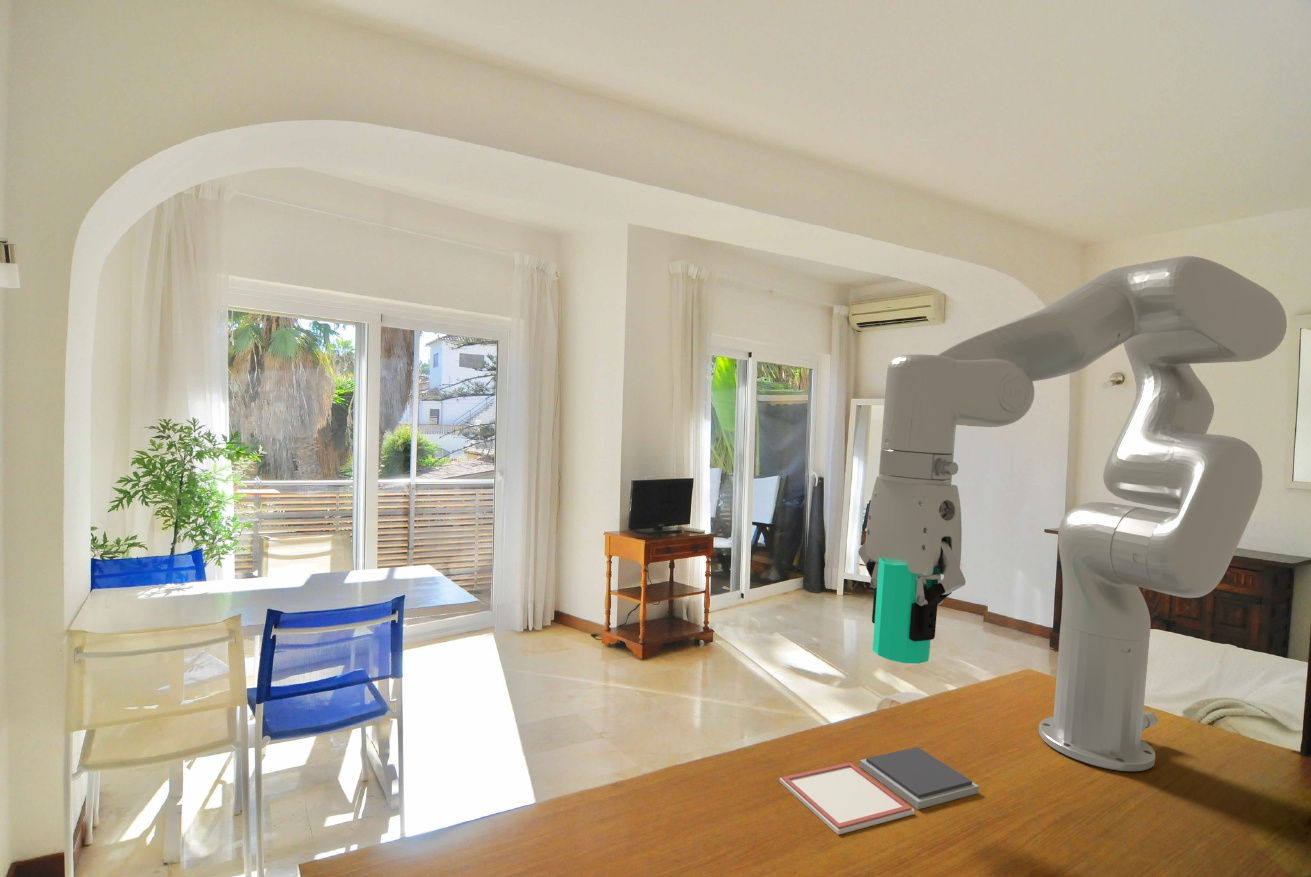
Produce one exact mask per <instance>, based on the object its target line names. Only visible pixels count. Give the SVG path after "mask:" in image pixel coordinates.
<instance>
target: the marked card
mask: <svg viewBox="0 0 1311 877" xmlns="http://www.w3.org/2000/svg"><path fill="white" fill-rule="evenodd" d="M778 780H779V781H778V782H779V783H780V784H781V785H782V786H783V787H784V788H785V789H787V791H789V792H790V793H791V794H792V795H793V796H794V797H795V798H796V799H798V800H799V801H800V802H801V803H802V804H803V805H804V806H806V808H808V809H809V810H810V811H811V812H812V813H813V814H814V815H815V816H816V817H817V818H819V819H820V821H822V822H823V823H824V824H825V825H826V826H828V828H830V830H832V831H833V832H834V833H835V834H836V835H839V836H840V835H842V834H846V833H849V832H854V831H858V830H861V829H864V828H869V827H871V826H875V825H878V824H882V823H886V822H890V821H894V820H898V819H901V818H905V817H908V816H912V815H915V809H914V808H912V806H910V804H909V805H908V804H907V803H906V802H904V800H902V799H901V798H899V796H897V795H895V793H893V792H891V791H890V790H888V788H887V787H886V788H885V786H883V784H882V785H881V784H880V783H879V781H878V782H877V781H876V779H874V778H872V777H871V776H870V775H868V773H865V772H864V770H861V769H860V767H857V766H856V765H855V764H854V763H852V762H850V761H849V762H846V763H845V762H844V763H840V764H836V765H830V766H827V767H822V768H818V769H814V770H809V771H804V772H803V771H802V772H800V773H799V772H798V773H795V774H794V773H793V774H790V775H785V776H782V777H779V779H778Z"/></svg>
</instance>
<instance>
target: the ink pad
mask: <svg viewBox="0 0 1311 877" xmlns="http://www.w3.org/2000/svg"><path fill="white" fill-rule="evenodd" d="M859 768H861V769H862V771H865V772H866V774H869V776H872V777H873V779H875V780H877V781H878V782H880V783H881V784H882V785H884V787H886V788H887V789H889V790H891V791H892V793H894V794H896V796H898V797H900V798H902V799H903V801H906V802H907V803H908V804H909V805H911V807H912V806H913V808H915V809H917V810H921V809H925V808H928V807H932V806H936V805H940V804H943V803H947V802H950V801H954V800H958V799H962V798H965V797H969V796H972V795H976V794H979V788H980V787H979V785H978V784H976V783H974V782H973V780H972V779H970V778H968V777H967V776H965V775H963V774H962V773H960V772H958V771H957V770H955V769H953V768H952V767H950V766H949V765H948V764H945V763H944V762H942V761H941V760H939V759H938V758H936V757H934V756H933V755H931V754H929V753H928V752H926V751H925V750H923V749H922V748H920V747H919V746H915V747H912V748H907V749H902V750H901V749H900V750H897V751H891V752H889V753H884V754H879V755H878V754H877V755H875V756H869V757H866V758H863V759H860V760H859Z"/></svg>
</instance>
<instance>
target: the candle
mask: <svg viewBox="0 0 1311 877" xmlns="http://www.w3.org/2000/svg"><path fill="white" fill-rule="evenodd" d="M932 574H934V569H933V573H932ZM915 577H916V576H915V575H913V574H912V573H910V572H909V569H908V565H896V564H888V563H886V562H885V561H883V559H881V558H879V567H878V581H877V595H876V609H875V624H874V623H873V624H874V627H873V638H872V639H873V641H872V651H873V652H874V653H875V654H876V655H877V656H879V657H881V658H884V659H886V660H889V661H893V662H897V663H898V662H899V663H902V664H915V665H916V664H918V665H919V664H923V663H927V662H929V659H930V651H931V640H924V641H912V640H910V639H909V631H910V619H911V606H912V603H917V601H916V595H915V581H916V579H915ZM926 585H927V590H928V589H929V588H930V587H931V586H932V580H926Z"/></svg>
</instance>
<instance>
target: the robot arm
mask: <svg viewBox="0 0 1311 877" xmlns="http://www.w3.org/2000/svg"><path fill="white" fill-rule="evenodd" d="M1287 322H1288V321H1287V316H1286V311H1285V309H1284V307H1283V305H1282V303H1281V301H1280V300H1279V299H1278V298H1277V297H1276V296H1275V295H1274V294H1273V293H1272V292H1271V291H1269V290H1268V289H1266V287H1265V288H1264V287H1263V286H1261V285H1259V284H1258V283H1256V282H1254V281H1252V280H1250V279H1248V278H1247V277H1245V276H1243V275H1241V274H1240V273H1238V272H1237V271H1234V270H1233V269H1231V268H1229V267H1226V266H1225V265H1222V264H1220V263H1218V262H1216V261H1213V260H1210V259H1206V258H1203V257H1199V256H1193V255H1186V256H1185V255H1184V256H1177V257H1172V258H1171V257H1170V258H1165V259H1161V260H1156V261H1150V262H1144V263H1139V264H1138V263H1137V264H1132V265H1126V266H1122V267H1117V268H1114V269H1110V270H1108V271H1105V272H1103V273H1101V274H1099V275H1098V276H1096V277H1094V278H1092V279H1091V280H1089V281H1088V282H1086V283H1083V284H1082V285H1080V286H1079V287H1077V288H1075V289H1073V290H1072V291H1070V292H1069V293H1067V294H1066V295H1064V296H1062V297H1060V298H1059V299H1057V300H1055V301H1054V302H1052V303H1051V304H1049V305H1047V306H1045V307H1043V308H1041V309H1040V310H1038V311H1036V312H1033V313H1030V314H1027V315H1025V316H1022V317H1019V318H1016V319H1015V320H1012V321H1009V322H1007V323H1005V324H1003V325H1000V326H998V327H995V328H992V329H990V330H987V331H984V332H982V333H980V334H977V335H975V336H972V337H969V338H967V339H965V340H962V341H960V342H959V343H957V344H954V345H953V346H951V347H949V348H947V349H945V350H943V351H942V352H940V353H938V354H937V355H936V354H922V353H921V354H915V353H914V354H904V355H899V356H896V357H894V358H893V359H891V361H890V362H889V364H888V366H887V371H886V377H885V378H886V380H885V390H884V391H885V393H884V402H883V404H884V405H883V415H882V416H883V417H882V431H881V432H882V433H881V444H880V448H881V449H880V455H879V469H878V472H879V473H878V476H876V478H875V482H874V485H873V490H872V492H871V498H870V502H869V503H870V504H869V508H868V515H867V521H866V522H867V523H866V531H865V532H866V533H865V541H864V543H863V544H862V545H861V547H860V548H858V555H859V558H860V559H861V560H862V562H863V564H864V565H865V568H866V570H867V573H868V575H869V578H870V586H871V588H873V603H872V614H871V622H872V623H873V624H875V609H876V595H877V581H878V567H879V558H881V559H883V561H885V562H886V563H888V564H896V565H908V569H909V572H910V573H912V574H913V575H915V576H916V577H915V579H916V581H915V595H916V601H917V603H912V606H911V619H910V631H909V639H910V640H912V641H924V640H930V641H931V640H932V641H933V640H934V639H935V638H936V628H937V627H936V626H937V615H938V605H942V604H943V603H944V601H945V599H946V598H947V597H949V596H950V595H952V592H955V591H957V590H959V589H961V588H962V587H963V586H965V585H966V578H965V575H964V574H963V571H962V569H961V560H962V534H963V533H962V532H963V531H962V529H963V528H962V527H963V526H962V510H961V500H960V494H959V493H960V492H959V489H958V488H959V487H958V485H956V484H952V482H953V481H952V479H953V476H954V475H957V473H958V471H959V465H958V463H956V462H955V461H954V458H955V457H954V456H955V455H954V452H955V442H956V441H955V440H956V431H957V430H956V428H957V426H967V427H981V428H983V427H984V428H997V427H1003V426H1008V425H1011V424H1013V423H1016V422H1017V421H1019V420H1021V419H1023V417H1025V416H1026V414H1027V413H1028V412H1029V410H1030V409H1031V407H1032V405H1033V403H1034V400H1035V386H1034V383H1033V382H1039V381H1043V380H1044V381H1045V380H1050V379H1054V378H1057V377H1062V376H1065V375H1069V374H1073V373H1076V372H1079V371H1081V370H1082V369H1083V370H1084V369H1085V368H1086V367H1088V366H1090V365H1091V364H1093V363H1094V362H1096V360H1099V359H1100V358H1101V357H1103V356H1104V355H1106V354H1107V353H1109V352H1111V351H1112V350H1114V349H1115V348H1117V347H1118V346H1120V345H1122V344H1123V346H1124V350H1125V352H1126V355H1127V358H1128V360H1129V364H1130V367H1131V370H1132V373H1133V376H1134V380H1135V389H1136V391H1135V392H1136V393H1135V399H1134V402H1133V404H1132V407H1131V409H1130V411H1129V413H1128V416H1127V418H1126V420H1125V422H1124V424H1123V426H1122V428H1121V430H1120V433H1119V434H1118V436H1117V439H1116V440H1115V442H1114V445H1113V447H1112V449H1111V451H1110V452H1109V455H1108V456H1107V457H1108V458H1107V459H1106V462H1105V466H1104V469H1103V475H1102V476H1103V483H1104V485H1105V487H1106V488H1107V490H1108V491H1109V493H1111V494H1112V495H1114V496H1115V497H1117V498H1119V499H1122V500H1123V501H1128V502H1131V503H1136V504H1142V505H1147V506H1153V507H1160V508H1166V509H1174V510H1177V512H1176V513H1175V512H1170V511H1162V510H1155V509H1149V508H1146V507H1140V506H1133V505H1128V504H1127V505H1126V504H1120V503H1113V502H1104V501H1103V502H1102V501H1097V502H1095V501H1092V502H1085V503H1082V504H1079V505H1076V506H1075V507H1073V508H1071V509H1070V510H1069V511H1067V512H1066V513H1065V515H1064V516H1063V518H1062V519H1061V521H1060V524H1059V526H1058V533H1057V542H1058V544H1057V545H1058V552H1059V560H1060V566H1061V573H1062V575H1061V576H1062V598H1061V599H1062V600H1061V602H1062V603H1061V619H1060V625H1059V626H1060V627H1059V640H1058V653H1057V666H1056V668H1057V669H1056V679H1055V680H1056V682H1055V694H1054V695H1055V696H1054V706H1053V707H1054V708H1053V716H1050V717H1047V718H1043V719H1042V720H1041V721H1040V723H1039V724H1038V734H1039V737H1040V738H1041V739H1042V740H1043V741H1044V742H1045V743H1046V745H1049V747H1051V748H1052V749H1054V750H1056V752H1060V753H1061V754H1063V755H1065V756H1067V757H1070V758H1072V759H1074V760H1077V761H1079V762H1082V763H1085V764H1088V765H1092V766H1094V767H1099V768H1103V769H1108V770H1114V771H1119V772H1142V771H1146V770H1149V769H1150V768H1153V767H1154V765H1155V761H1156V752H1155V751H1154V748H1152V746H1150V744H1149V743H1147V742H1146V741H1144V740H1143V739H1142V737H1143V732H1144V731H1145V730H1146V729H1149V728H1153V727H1156V726H1157V725H1158V724H1159V723H1158V721H1159V720H1158V718H1157V716H1156V715H1155V713H1153V712H1152V711H1149V710H1148V711H1144V710H1145V697H1146V687H1147V686H1146V685H1147V671H1148V659H1149V649H1150V637H1151V627H1152V626H1151V624H1152V622H1151V615H1150V611H1149V608H1148V606H1147V604H1148V603H1147V602H1146V600H1145V598H1144V595H1143V593H1142V592H1141V589H1140V588H1143V589H1146V590H1150V591H1154V592H1158V593H1163V594H1164V595H1169V596H1174V597H1179V598H1187V599H1195V598H1200V597H1205V596H1207V595H1208V594H1209V593H1211V592H1213V591H1214V590H1215V588H1216V587H1217V586H1218V585H1219V584H1220V582H1221V581H1222V580H1223V578H1224V576H1225V574H1226V572H1227V570H1228V568H1229V566H1230V563H1231V561H1232V559H1233V557H1234V555H1235V553H1236V550H1237V548H1238V546H1239V544H1240V541H1241V539H1242V537H1243V535H1244V533H1245V530H1246V528H1247V526H1248V524H1249V523H1250V522H1249V521H1250V519H1251V517H1252V515H1253V512H1254V510H1255V508H1256V506H1257V503H1258V501H1259V497H1260V495H1261V490H1262V487H1263V486H1262V485H1263V467H1262V461H1261V458H1260V456H1259V454H1258V452H1257V451H1256V450H1255V449H1254V447H1253V446H1252V445H1250V444H1249V443H1248V442H1246V441H1244V440H1242V439H1240V438H1237V437H1233V436H1231V435H1230V436H1229V435H1224V434H1222V435H1221V434H1211V433H1210V434H1209V433H1207V432H1208V429H1209V427H1210V425H1211V423H1212V420H1213V417H1214V414H1215V405H1214V404H1215V403H1214V401H1213V399H1212V395H1211V393H1210V392H1209V390H1208V389H1207V387H1206V386H1205V385H1204V384H1203V382H1202V381H1201V379H1200V378H1199V377H1198V376H1197V374H1196V373H1195V371H1194V370H1193V368H1192V366H1191V364H1214V363H1215V364H1217V363H1219V364H1220V363H1240V362H1241V363H1242V362H1243V363H1244V362H1251V361H1256V360H1259V359H1263V358H1266V357H1267V356H1269V355H1271V354H1272V353H1273V352H1275V350H1277V349H1278V347H1279V346H1280V345H1281V344H1282V342H1283V340H1284V339H1285V337H1286V336H1285V335H1286V333H1287V327H1288V326H1287V325H1288V324H1287ZM933 569H934V574H932V573H933ZM941 575H943V577H942V576H941ZM926 580H932V586H931V587H930V588H929V589H928V590H927V585H926Z"/></svg>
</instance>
